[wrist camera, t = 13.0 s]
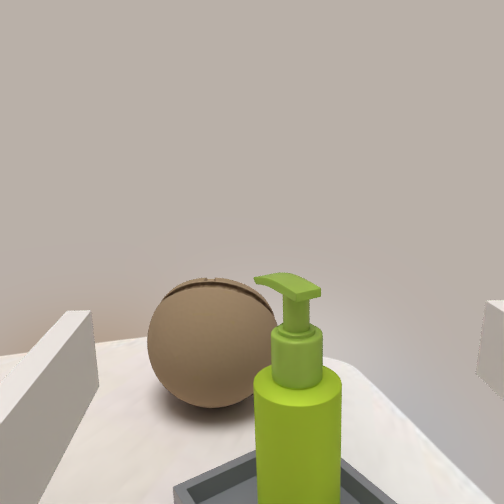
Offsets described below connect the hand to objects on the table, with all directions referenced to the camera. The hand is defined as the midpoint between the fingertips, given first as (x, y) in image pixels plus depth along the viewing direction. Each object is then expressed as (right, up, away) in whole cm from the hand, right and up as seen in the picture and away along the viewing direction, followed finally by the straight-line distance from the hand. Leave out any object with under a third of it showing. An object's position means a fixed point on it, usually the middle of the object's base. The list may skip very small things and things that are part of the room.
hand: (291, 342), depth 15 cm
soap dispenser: (+2, -18, +18) cm, 26 cm away
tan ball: (-6, -15, +38) cm, 41 cm away
